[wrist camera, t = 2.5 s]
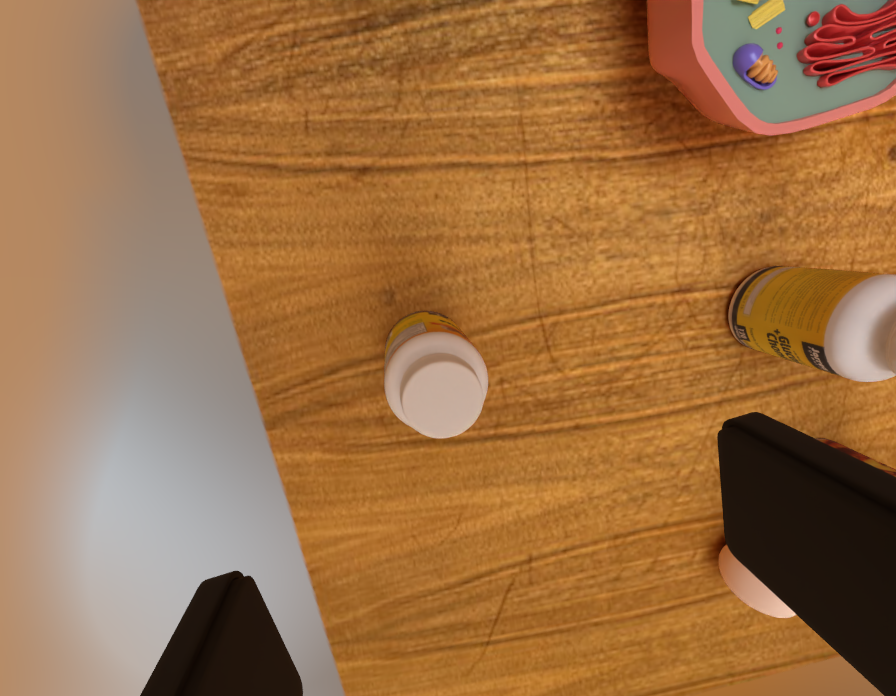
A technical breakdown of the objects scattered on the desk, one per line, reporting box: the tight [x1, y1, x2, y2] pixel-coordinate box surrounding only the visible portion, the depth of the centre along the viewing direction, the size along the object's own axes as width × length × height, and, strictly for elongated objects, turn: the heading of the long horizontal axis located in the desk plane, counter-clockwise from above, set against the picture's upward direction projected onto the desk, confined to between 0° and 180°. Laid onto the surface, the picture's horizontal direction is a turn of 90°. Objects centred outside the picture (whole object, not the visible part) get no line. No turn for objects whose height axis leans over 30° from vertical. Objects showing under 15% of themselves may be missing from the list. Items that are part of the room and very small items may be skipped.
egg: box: [719, 544, 796, 618], centre depth 36 cm, size 5×5×7 cm
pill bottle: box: [728, 266, 896, 382], centre depth 27 cm, size 6×6×12 cm
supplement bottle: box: [384, 311, 488, 438], centre depth 25 cm, size 6×6×10 cm
